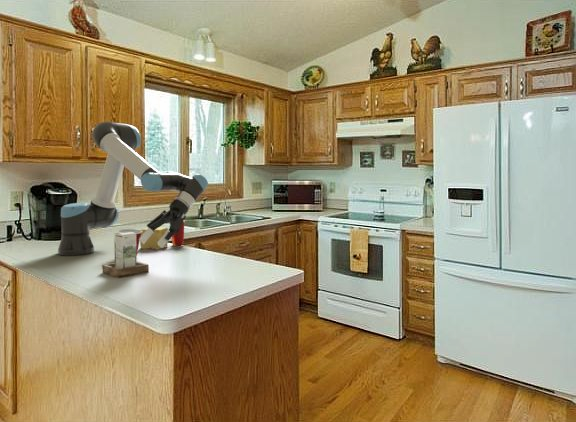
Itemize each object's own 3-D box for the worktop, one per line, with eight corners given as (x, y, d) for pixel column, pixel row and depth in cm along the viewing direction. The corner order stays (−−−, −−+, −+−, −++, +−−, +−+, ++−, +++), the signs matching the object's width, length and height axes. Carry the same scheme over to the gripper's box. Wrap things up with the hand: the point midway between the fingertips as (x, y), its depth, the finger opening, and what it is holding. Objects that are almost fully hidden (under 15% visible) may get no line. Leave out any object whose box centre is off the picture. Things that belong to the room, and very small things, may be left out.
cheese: (158, 249, 199) (158, 229, 199) (139, 248, 202) (138, 229, 201) (168, 246, 210) (168, 227, 209) (150, 245, 212) (149, 226, 211)
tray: (102, 272, 150) (102, 264, 150) (132, 267, 159) (132, 260, 159) (118, 278, 143) (118, 269, 142) (148, 272, 152) (148, 264, 152)
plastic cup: (129, 259, 175) (128, 232, 174) (112, 257, 179) (111, 230, 178) (148, 255, 184) (147, 229, 183) (131, 253, 189) (130, 228, 188)
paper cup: (188, 244, 216) (187, 218, 215) (179, 246, 209) (179, 219, 208) (175, 243, 219) (175, 217, 218) (167, 245, 212) (166, 219, 211)
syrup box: (128, 268, 155) (127, 231, 154) (137, 270, 151) (136, 232, 150) (114, 270, 150) (113, 232, 149) (123, 273, 147) (122, 234, 146)
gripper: (205, 212, 163) (174, 253, 152) (170, 208, 179) (140, 245, 168) (194, 199, 158) (161, 241, 148) (159, 197, 174) (127, 234, 164)
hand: (150, 243), depth 158 cm, fingers open, 13 cm apart
